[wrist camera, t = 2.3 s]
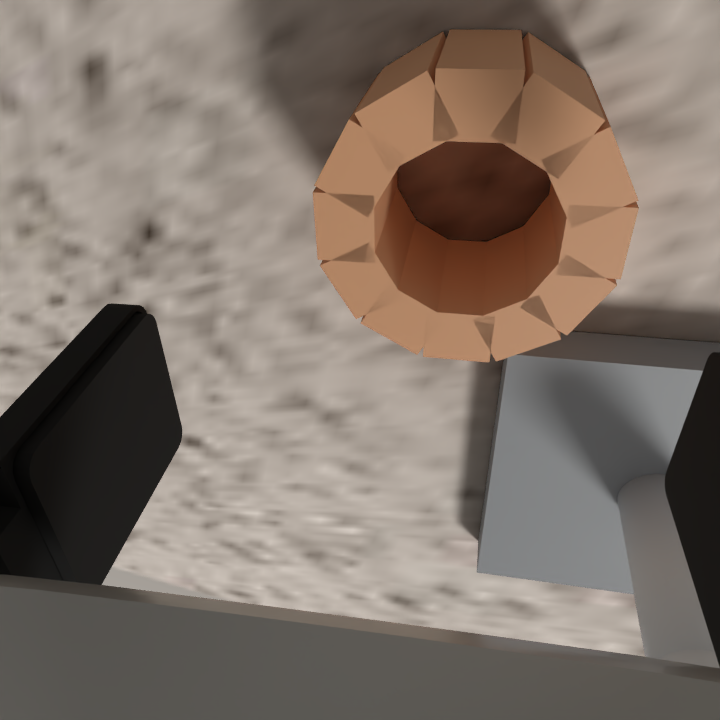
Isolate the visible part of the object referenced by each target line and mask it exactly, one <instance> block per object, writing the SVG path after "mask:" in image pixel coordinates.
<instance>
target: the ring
mask: <svg viewBox="0 0 720 720" xmlns="http://www.w3.org/2000/svg"><path fill="white" fill-rule="evenodd" d="M446 141H455V142H485V143H503V144H504V145H506V146H507V147H509V148H510V149H512V150H513V151H515V152H517V153H518V154H520V155H521V156H523V157H524V158H526V159H527V160H529V161H531V162H532V163H534V164H535V165H537V166H538V167H540V168H541V169H543V170H545V171H546V172H547V173H548V176H549V178H550V180H551V185H550V191H549V195H548V196H547V197H546V199H545V200H544V201H543V202H542V204H541V205H540V206H539V207H538V209H537V210H536V211H535V212H534V214H533V215H532V216H531V217H530V218H529V220H528V221H527V222H526V223H525V225H524V226H522V227H520V228H518V229H515V230H513V231H511V232H508V233H506V234H504V235H502V236H499V237H497V238H495V239H492V240H490V241H488V242H480V241H463V240H448V239H446V238H445V237H443V236H441V235H440V234H438V233H436V232H435V231H433V230H431V229H430V228H428V227H426V226H425V225H423V224H421V223H420V222H418V221H416V219H415V217H414V216H413V214H412V212H411V210H410V209H409V207H408V205H407V203H406V202H405V200H404V198H403V196H402V195H401V193H400V191H399V189H398V188H397V175H398V167H399V166H400V165H402V164H404V163H406V162H408V161H410V160H412V159H414V158H416V157H417V156H419V155H421V154H423V153H425V152H427V151H429V150H431V149H433V148H435V147H436V146H438V145H440V144H442V143H444V142H446ZM314 186H316V188H315V190H314V191H313V201H314V215H315V228H316V242H317V255H318V260H322V263H321V265H320V266H321V268H322V269H323V271H324V272H325V274H326V275H327V277H328V278H329V280H330V281H331V283H332V284H333V286H334V287H335V289H336V290H337V292H338V293H339V294H340V296H341V297H342V299H343V300H344V302H345V303H346V305H347V306H348V308H349V309H350V311H351V312H352V314H353V315H354V317H355V318H356V319H357V318H359V317H362V316H363V318H362V321H361V324H363V325H365V326H367V327H368V328H370V329H372V330H374V331H376V332H377V333H379V334H381V335H383V336H385V337H386V338H388V339H390V340H392V341H393V342H395V343H397V344H399V345H401V346H402V347H404V348H406V349H408V350H409V351H411V352H413V353H415V354H418V353H419V352H420V350H421V349H422V348H423V347H424V351H423V357H433V358H444V359H456V360H467V361H479V362H490V354H492V355H493V357H494V359H495V361H496V362H497V361H499V360H502V359H505V358H508V357H511V356H514V355H517V354H520V353H523V352H526V351H529V350H531V349H534V348H537V347H540V346H543V345H546V344H549V343H552V342H555V341H558V340H561V334H560V332H562V333H563V334H565V335H568V334H569V333H570V332H571V331H572V330H573V329H574V328H575V327H576V326H577V325H578V324H579V323H580V322H581V321H582V320H583V319H584V318H585V317H586V316H587V315H588V314H589V313H590V312H591V311H592V310H593V309H594V308H595V307H596V306H597V305H598V304H599V303H600V302H601V301H602V300H603V299H604V298H605V297H606V296H607V295H608V294H609V293H610V292H611V291H612V290H613V289H614V288H615V287H616V286H617V284H616V280H615V279H621V276H622V272H623V268H624V264H625V260H626V256H627V252H628V248H629V244H630V240H631V236H632V233H633V229H634V225H635V221H636V217H637V213H638V209H639V207H638V205H637V202H636V201H638V198H637V195H636V193H635V190H634V187H633V185H632V182H631V180H630V177H629V174H628V172H627V169H626V166H625V164H624V161H623V158H622V156H621V153H620V150H619V148H618V145H617V142H616V140H615V137H614V134H613V132H612V129H611V127H610V124H609V122H608V119H607V117H606V115H605V112H604V110H603V107H602V105H601V103H600V100H599V98H598V95H597V93H596V91H595V88H594V86H593V83H592V81H591V79H590V76H589V77H588V76H587V74H586V71H585V70H583V69H582V68H580V67H579V66H577V65H576V64H574V63H573V62H571V61H570V60H569V59H567V58H566V57H564V56H563V55H561V54H560V53H558V52H557V51H555V50H554V49H552V48H551V47H549V46H548V45H547V44H545V43H544V42H542V41H541V40H539V39H538V38H536V37H535V36H533V35H532V34H530V33H529V32H528V33H527V34H526V36H525V37H524V39H523V40H522V32H521V30H458V29H450V31H449V33H448V36H447V39H446V37H445V34H444V32H441V33H440V34H438V35H436V36H435V37H433V38H432V39H430V40H428V41H427V42H425V43H423V44H422V45H420V46H418V47H417V48H415V49H414V50H412V51H410V52H409V53H407V54H405V55H404V56H402V57H401V58H399V59H397V60H396V61H394V62H392V63H391V64H389V65H388V66H386V67H384V68H383V70H382V71H381V73H379V74H378V75H377V77H376V78H375V80H374V81H373V83H372V84H371V86H370V88H369V89H368V91H367V92H366V94H365V95H364V97H363V98H362V100H361V101H360V103H359V105H358V106H357V108H356V109H355V111H354V112H353V114H352V115H351V117H350V118H349V120H348V122H347V124H346V126H345V128H344V130H343V132H342V134H341V135H340V137H339V139H338V141H337V143H336V145H335V147H334V149H333V151H332V153H331V155H330V156H329V158H328V160H327V162H326V164H325V166H324V168H323V170H322V172H321V174H320V175H319V177H318V179H317V181H316V183H315V185H314Z"/></svg>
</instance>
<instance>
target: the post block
mask: <svg viewBox="0 0 720 720" xmlns="http://www.w3.org/2000/svg"><path fill="white" fill-rule="evenodd" d="M560 334H561V340H558V341H555V342H552V343H549V344H546V345H543V346H540V347H537V348H534V349H531V350H529V351H526V352H523V353H520V354H517V355H514V356H511V357H508V358H505V359H504V360H503V367H502V374H501V381H500V389H499V396H498V403H497V410H496V417H495V425H494V432H493V439H492V446H491V453H490V461H489V468H488V475H487V482H486V489H485V497H484V504H483V511H482V518H481V525H480V533H479V540H478V559H477V572H478V573H485V574H492V575H500V576H507V577H514V578H521V579H528V580H535V581H542V582H550V583H557V584H564V585H571V586H578V587H585V588H592V589H600V590H607V591H614V592H621V593H628V594H634V597H635V602H636V608H637V613H638V619H639V625H640V630H641V636H642V641H643V647H644V653H645V657H649V658H656V659H662V660H669V661H675V662H682V663H688V664H695V665H701V666H708V667H714V668H720V667H719V664H718V661H717V657H716V654H715V651H714V648H713V644H712V641H711V638H710V635H709V632H708V628H707V625H706V622H705V619H704V615H703V612H702V609H701V606H700V603H699V599H698V596H697V593H696V590H695V587H694V583H693V580H692V577H691V574H690V570H689V567H688V564H687V561H686V558H685V554H684V551H683V548H682V545H681V541H680V538H679V535H678V532H677V529H676V525H675V522H674V519H673V516H672V512H671V509H670V506H669V503H668V500H667V496H666V492H665V475H666V471H667V468H668V466H669V463H670V460H671V457H672V455H673V452H674V449H675V446H676V444H677V441H678V438H679V435H680V433H681V430H682V427H683V424H684V422H685V419H686V416H687V413H688V411H689V408H690V405H691V402H692V400H693V397H694V394H695V391H696V389H697V386H698V383H699V380H700V378H701V375H702V372H703V370H704V367H705V364H706V361H707V359H708V357H709V355H710V354H711V353H713V352H720V343H713V342H700V341H688V340H675V339H662V338H649V337H637V336H624V335H611V334H598V333H586V332H573V331H571V332H570V333H569V334H568V335H565V334H563V333H562V332H560Z"/></svg>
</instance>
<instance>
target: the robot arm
mask: <svg viewBox="0 0 720 720" xmlns="http://www.w3.org/2000/svg"><path fill="white" fill-rule="evenodd" d="M181 438H182V426H181V421H180V417H179V413H178V409H177V405H176V401H175V397H174V393H173V389H172V385H171V381H170V376H169V372H168V368H167V364H166V360H165V356H164V352H163V348H162V344H161V340H160V336H159V332H158V327H157V323H156V320H155V318H154V317H153V315H151V314H147V312H146V310H145V309H144V308H143V307H142V306H140V305H126V304H107V305H106V306H105V307H104V308H103V309H102V310H101V311H100V312H99V313H98V314H97V315H96V316H95V317H94V318H93V319H92V320H91V321H90V322H89V324H88V325H87V326H86V327H85V328H84V329H83V330H82V331H81V332H80V333H79V334H78V335H77V336H76V337H75V338H74V339H73V340H72V342H71V343H70V344H69V345H68V346H67V347H66V348H65V349H64V350H63V351H62V352H61V353H60V354H59V355H58V356H57V357H56V358H55V360H54V361H53V362H52V363H51V364H50V365H49V366H48V367H47V368H46V369H45V370H44V371H43V372H42V373H41V374H40V375H39V377H38V378H37V379H36V380H35V381H34V382H33V383H32V384H31V385H30V386H29V387H28V388H27V389H26V390H25V391H24V392H23V393H22V395H21V396H20V397H19V398H18V399H17V400H16V401H15V402H14V403H13V404H12V405H11V406H10V407H9V408H8V409H7V410H6V411H5V413H4V414H3V415H2V416H1V417H0V720H720V668H714V667H708V666H701V665H695V664H688V663H682V662H675V661H669V660H662V659H656V658H649V657H642V656H635V655H628V654H621V653H613V652H606V651H599V650H592V649H584V648H577V647H570V646H562V645H555V644H548V643H541V642H533V641H526V640H519V639H511V638H504V637H497V636H489V635H482V634H475V633H468V632H460V631H453V630H445V629H438V628H430V627H423V626H415V625H408V624H400V623H392V622H385V621H377V620H370V619H362V618H355V617H347V616H339V615H332V614H324V613H317V612H309V611H301V610H294V609H286V608H278V607H271V606H263V605H255V604H248V603H240V602H232V601H224V600H216V599H207V598H200V597H191V596H184V595H176V594H168V593H160V592H152V591H145V590H136V589H129V588H121V587H113V586H105V585H102V583H103V581H104V579H105V578H106V576H107V574H108V572H109V570H110V569H111V567H112V565H113V563H114V561H115V560H116V558H117V556H118V554H119V553H120V551H121V549H122V547H123V545H124V544H125V542H126V540H127V538H128V537H129V535H130V533H131V531H132V529H133V528H134V526H135V524H136V522H137V521H138V519H139V517H140V515H141V513H142V512H143V510H144V508H145V506H146V505H147V503H148V501H149V499H150V497H151V496H152V494H153V492H154V490H155V488H156V487H157V485H158V483H159V481H160V480H161V478H162V476H163V474H164V472H165V471H166V469H167V467H168V465H169V464H170V462H171V460H172V458H173V456H174V455H175V453H176V451H177V449H178V448H179V445H180V443H181ZM665 492H666V496H667V500H668V503H669V506H670V509H671V512H672V516H673V519H674V522H675V525H676V529H677V532H678V535H679V538H680V541H681V545H682V548H683V551H684V554H685V558H686V561H687V564H688V567H689V570H690V574H691V577H692V580H693V583H694V587H695V590H696V593H697V596H698V599H699V603H700V606H701V609H702V612H703V615H704V619H705V622H706V625H707V628H708V632H709V635H710V638H711V641H712V644H713V648H714V651H715V654H716V657H717V661H718V664H719V667H720V352H713V353H711V354H710V355H709V357H708V359H707V361H706V364H705V367H704V370H703V372H702V375H701V378H700V380H699V383H698V386H697V389H696V391H695V394H694V397H693V400H692V402H691V405H690V408H689V411H688V413H687V416H686V419H685V422H684V424H683V427H682V430H681V433H680V435H679V438H678V441H677V444H676V446H675V449H674V452H673V455H672V457H671V460H670V463H669V466H668V468H667V471H666V475H665Z"/></svg>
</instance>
